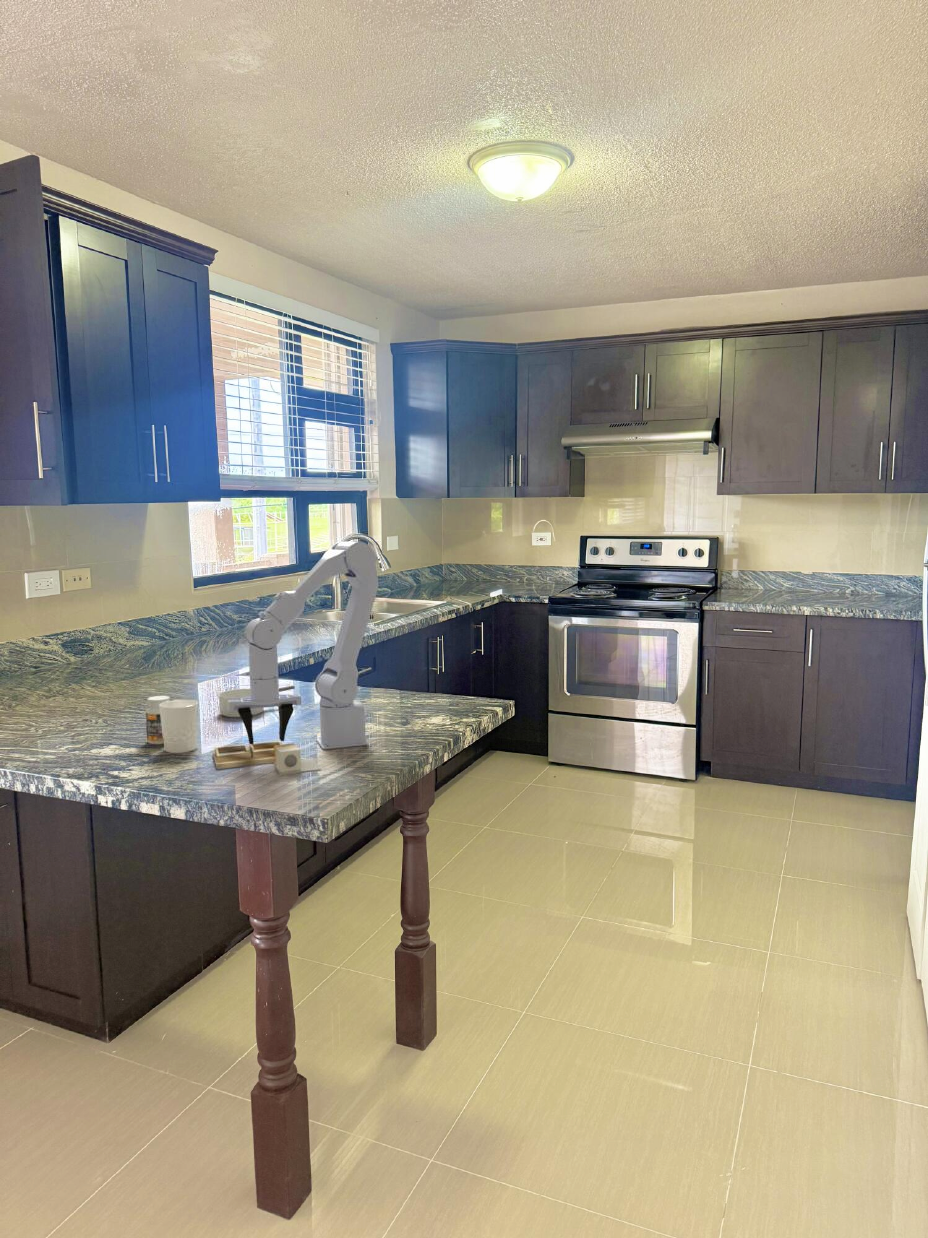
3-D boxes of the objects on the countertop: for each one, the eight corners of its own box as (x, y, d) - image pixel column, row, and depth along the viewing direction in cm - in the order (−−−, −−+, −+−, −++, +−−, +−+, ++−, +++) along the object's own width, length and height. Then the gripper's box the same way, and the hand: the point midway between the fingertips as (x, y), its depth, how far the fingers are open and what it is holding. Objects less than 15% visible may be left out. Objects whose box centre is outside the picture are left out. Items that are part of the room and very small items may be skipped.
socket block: (280, 748, 181) (280, 738, 180) (288, 761, 171) (287, 750, 171) (212, 755, 176) (212, 745, 175) (216, 769, 166) (216, 758, 166)
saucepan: (304, 710, 215) (303, 689, 215) (227, 722, 204) (226, 700, 203) (285, 703, 225) (284, 682, 224) (211, 713, 213) (210, 692, 212)
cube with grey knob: (293, 743, 168) (300, 749, 164) (294, 762, 169) (301, 769, 164) (273, 745, 167) (280, 752, 162) (274, 765, 167) (281, 772, 163)
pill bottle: (146, 746, 184) (143, 701, 182) (148, 739, 189) (145, 696, 188) (173, 743, 185) (171, 699, 184) (174, 737, 191) (172, 694, 189)
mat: (313, 759, 172) (313, 758, 172) (321, 771, 165) (321, 769, 165) (273, 764, 169) (273, 762, 169) (279, 775, 162) (279, 773, 162)
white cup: (204, 743, 185) (202, 699, 184) (194, 754, 177) (192, 707, 176) (168, 744, 185) (166, 699, 184) (156, 754, 177) (153, 708, 176)
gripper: (296, 671, 179) (298, 733, 181) (225, 676, 174) (228, 740, 175) (302, 677, 172) (304, 741, 174) (229, 682, 167) (232, 749, 169)
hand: (266, 741), depth 174 cm, fingers open, 6 cm apart
